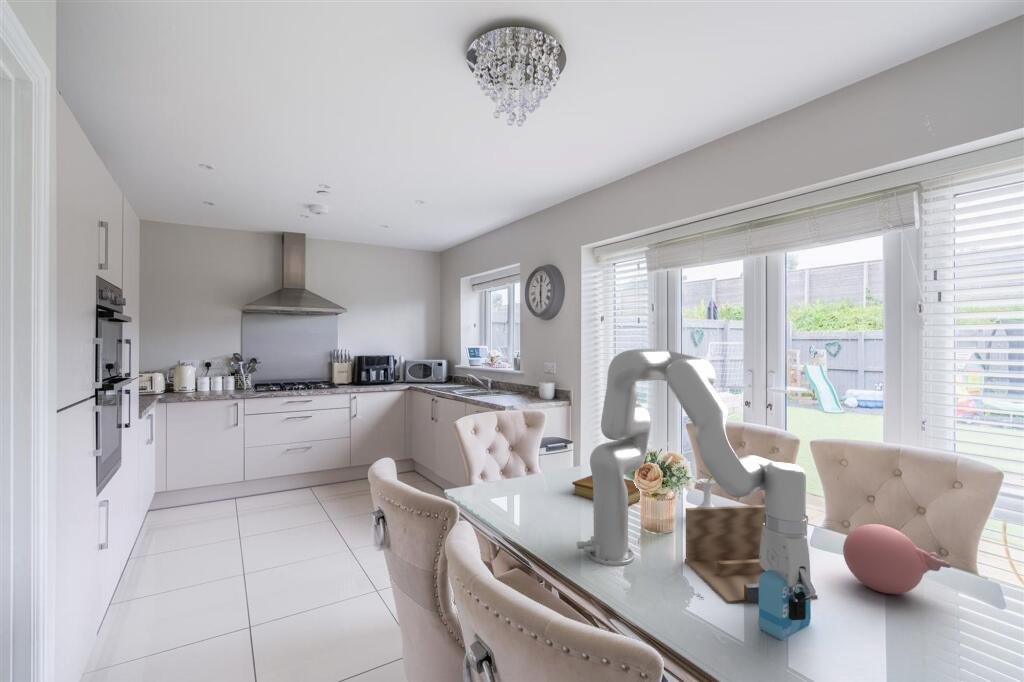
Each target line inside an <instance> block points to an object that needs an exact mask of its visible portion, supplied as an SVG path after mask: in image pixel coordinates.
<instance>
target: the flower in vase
mask: <svg viewBox="0 0 1024 682" xmlns="http://www.w3.org/2000/svg"><path fill="white" fill-rule="evenodd" d="M699 472H700V473H701V474H702V475H705V476H707V477H709V478H701V479H699V482H700V485H701V486H702V491H703V500H702V502H701V504H699V505H697V506H696V507H695V508H701V507H716V506H715V505H714V504H713V503H712V489H713V486H714V485H715V484H716V481H715V480H714V479H713V477H712V475H711V476H710V475H709V473H705V472H703V471H702V470H699Z"/></svg>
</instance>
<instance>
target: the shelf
mask: <svg viewBox="0 0 1024 682" xmlns="http://www.w3.org/2000/svg"><path fill="white" fill-rule="evenodd" d="M764 523H765V505H761V504H760V505H759V504H758V505H734V506H733V505H732V506H731V505H730V506H715V507H701V508H696V507H685V558H684V562H685V564H686V565H688V566H689V568H691V569H692V570H693V571H694V572H695V573H696V574H697V575H698V576H699V577H700V578H701V579H702V580H703V581H705V582H706V584H707V585H708V586H709V587H710V588H711V589H712V590H713V591H715V593H717V594H718V595H719V596H720V597H721V598H722V599H723V600H724V602H726V603H727V604H728V605H730V604H744V603H745V602H749V603H759V600H754V601H748V600H747V599H745V598H744V584H759V577H760V575H761V574H762V573H763V572H764V570H763V568H762V567H761V566H760V561H759V554H760V540H761V532H762V528H763V524H764ZM705 582H704V583H705ZM815 599H818V595H817V594H816V593H815V594H814V595H813V596H811V600H815Z"/></svg>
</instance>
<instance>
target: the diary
mask: <svg viewBox="0 0 1024 682" xmlns="http://www.w3.org/2000/svg"><path fill="white" fill-rule="evenodd" d="M624 481H625V484H626V487H627V490H628V508H629V507H631V506H633V505H635V504H638V503H639V500H640V491H639V489H638V488H636V486H635V484H634V482H633V481H634V480H632V479H628V478H627V479H626V478H624ZM571 484H572V485H573V486H574V493H572V495H573V496H576V497H580V498H584V499H588V500H591V501H593V502H594V499H593V477H592V474H591V475H589V476H587V477H584V478H579V479H578V480H574V481H572V483H571Z"/></svg>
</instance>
